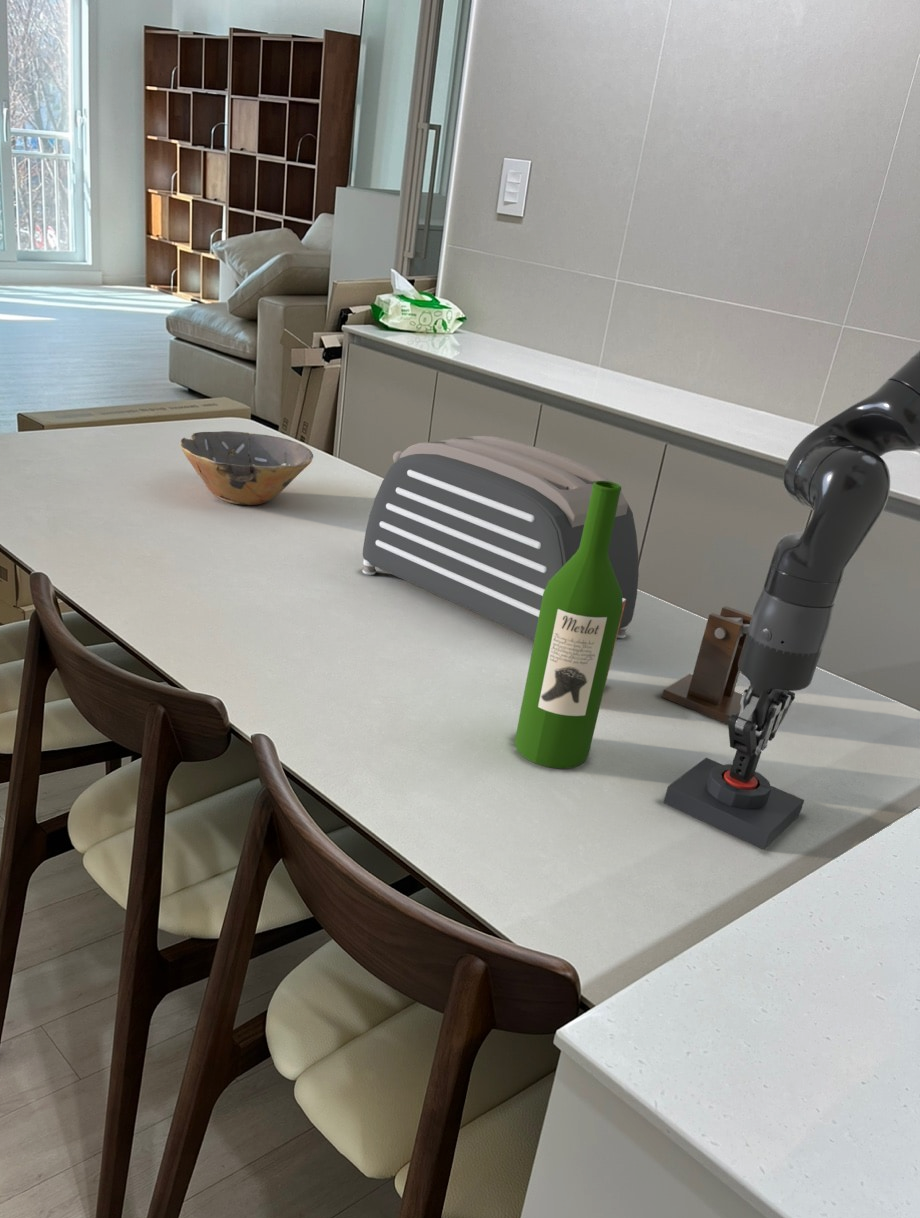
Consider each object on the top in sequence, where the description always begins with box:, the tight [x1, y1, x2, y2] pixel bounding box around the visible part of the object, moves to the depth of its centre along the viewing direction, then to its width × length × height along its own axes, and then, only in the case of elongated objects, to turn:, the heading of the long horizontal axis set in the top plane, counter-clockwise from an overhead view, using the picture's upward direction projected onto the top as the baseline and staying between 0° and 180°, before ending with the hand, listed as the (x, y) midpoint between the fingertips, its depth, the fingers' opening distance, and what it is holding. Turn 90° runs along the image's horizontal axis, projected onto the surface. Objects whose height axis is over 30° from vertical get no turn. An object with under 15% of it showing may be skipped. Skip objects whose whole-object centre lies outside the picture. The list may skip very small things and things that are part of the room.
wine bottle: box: [514, 481, 623, 769], centre depth 119 cm, size 9×9×32 cm
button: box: [723, 770, 758, 790], centre depth 118 cm, size 4×4×2 cm
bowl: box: [179, 430, 314, 506], centre depth 199 cm, size 25×25×10 cm
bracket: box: [661, 605, 753, 725], centre depth 141 cm, size 10×8×13 cm
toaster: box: [362, 435, 640, 640], centre depth 163 cm, size 19×45×24 cm, turn 44°
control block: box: [663, 757, 805, 850], centre depth 118 cm, size 12×10×4 cm
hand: (740, 777), depth 117 cm, fingers closed
